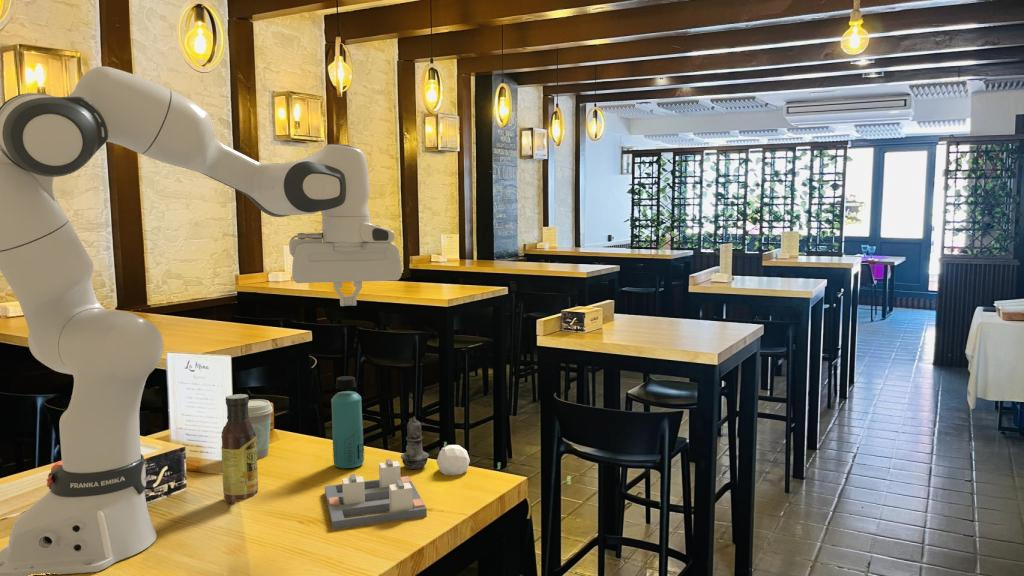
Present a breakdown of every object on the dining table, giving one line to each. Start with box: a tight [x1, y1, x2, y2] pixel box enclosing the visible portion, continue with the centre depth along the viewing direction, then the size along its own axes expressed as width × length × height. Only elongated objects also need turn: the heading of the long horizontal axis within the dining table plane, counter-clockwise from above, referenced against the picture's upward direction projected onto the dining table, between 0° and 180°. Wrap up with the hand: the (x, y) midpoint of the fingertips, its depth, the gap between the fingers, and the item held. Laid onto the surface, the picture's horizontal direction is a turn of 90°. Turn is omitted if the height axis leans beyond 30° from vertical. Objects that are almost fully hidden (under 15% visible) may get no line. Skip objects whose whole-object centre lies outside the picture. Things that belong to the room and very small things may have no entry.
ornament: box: [436, 444, 471, 476], centre depth 148 cm, size 6×7×7 cm
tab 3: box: [388, 480, 413, 512], centre depth 126 cm, size 4×3×6 cm
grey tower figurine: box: [400, 416, 430, 470], centre depth 150 cm, size 6×6×12 cm
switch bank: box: [324, 475, 428, 531], centre depth 131 cm, size 16×17×3 cm
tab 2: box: [378, 458, 402, 488], centre depth 138 cm, size 4×3×6 cm
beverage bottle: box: [330, 375, 365, 469], centre depth 151 cm, size 6×7×20 cm
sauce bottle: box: [220, 393, 259, 505], centre depth 136 cm, size 6×6×20 cm
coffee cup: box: [248, 398, 274, 460], centre depth 161 cm, size 8×8×12 cm
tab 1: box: [341, 473, 366, 505], centre depth 130 cm, size 4×3×6 cm
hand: (348, 305), depth 137 cm, fingers closed
